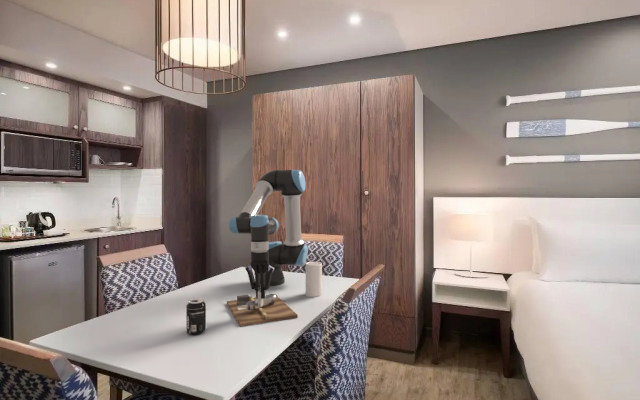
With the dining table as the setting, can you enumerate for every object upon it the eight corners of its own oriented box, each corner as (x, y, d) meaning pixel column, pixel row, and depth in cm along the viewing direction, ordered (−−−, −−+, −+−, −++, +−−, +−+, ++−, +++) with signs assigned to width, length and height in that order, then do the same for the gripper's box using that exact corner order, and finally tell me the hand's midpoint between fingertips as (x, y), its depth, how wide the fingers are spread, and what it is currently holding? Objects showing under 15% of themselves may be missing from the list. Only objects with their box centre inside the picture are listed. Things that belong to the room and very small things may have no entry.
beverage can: (190, 328, 134) (190, 297, 133) (208, 328, 133) (208, 297, 133) (183, 336, 127) (183, 303, 126) (201, 336, 127) (201, 303, 126)
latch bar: (270, 298, 163) (270, 292, 162) (278, 300, 160) (278, 293, 160) (245, 308, 148) (245, 301, 148) (252, 310, 146) (252, 303, 146)
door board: (226, 303, 163) (226, 292, 163) (276, 297, 173) (276, 287, 173) (239, 326, 136) (239, 313, 136) (297, 317, 146) (297, 305, 146)
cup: (322, 292, 182) (322, 261, 181) (320, 297, 174) (321, 265, 173) (306, 291, 183) (306, 261, 182) (304, 296, 174) (304, 264, 174)
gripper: (242, 252, 147) (242, 307, 148) (270, 252, 144) (271, 309, 144) (249, 249, 154) (250, 302, 155) (277, 250, 151) (277, 304, 152)
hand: (260, 305), depth 150 cm, fingers closed
